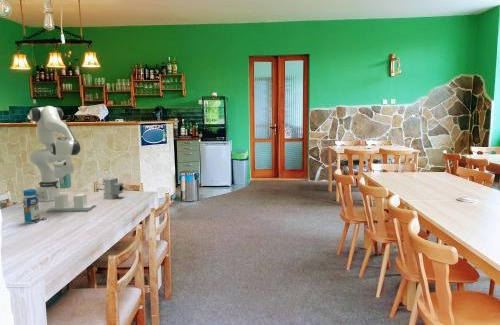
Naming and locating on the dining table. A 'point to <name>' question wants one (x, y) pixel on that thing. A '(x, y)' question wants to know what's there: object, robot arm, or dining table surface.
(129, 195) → the dining table surface
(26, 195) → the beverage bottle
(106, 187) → the circuit breaker
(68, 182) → the block
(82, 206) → the mounting panel
